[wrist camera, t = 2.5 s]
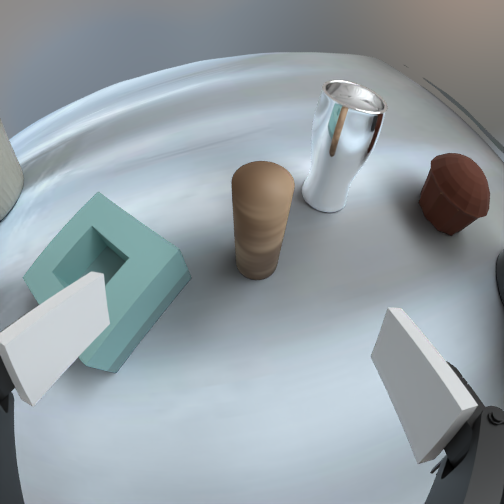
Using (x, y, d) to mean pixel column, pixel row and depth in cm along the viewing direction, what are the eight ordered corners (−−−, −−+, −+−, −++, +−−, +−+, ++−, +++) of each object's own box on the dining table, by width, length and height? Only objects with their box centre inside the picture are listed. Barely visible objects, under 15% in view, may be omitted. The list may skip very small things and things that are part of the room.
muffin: (428, 175, 38) (453, 132, 29) (472, 219, 34) (504, 181, 25) (399, 203, 34) (430, 152, 25) (452, 257, 30) (494, 216, 21)
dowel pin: (284, 256, 29) (305, 177, 19) (263, 287, 28) (274, 217, 17) (251, 236, 30) (254, 153, 20) (227, 265, 29) (218, 187, 18)
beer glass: (308, 219, 32) (339, 112, 19) (291, 178, 35) (309, 77, 22) (357, 212, 33) (403, 117, 20) (337, 174, 36) (367, 82, 23)
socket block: (191, 277, 28) (179, 249, 23) (116, 373, 22) (85, 365, 17) (116, 222, 31) (98, 191, 26) (51, 298, 26) (22, 277, 20)
